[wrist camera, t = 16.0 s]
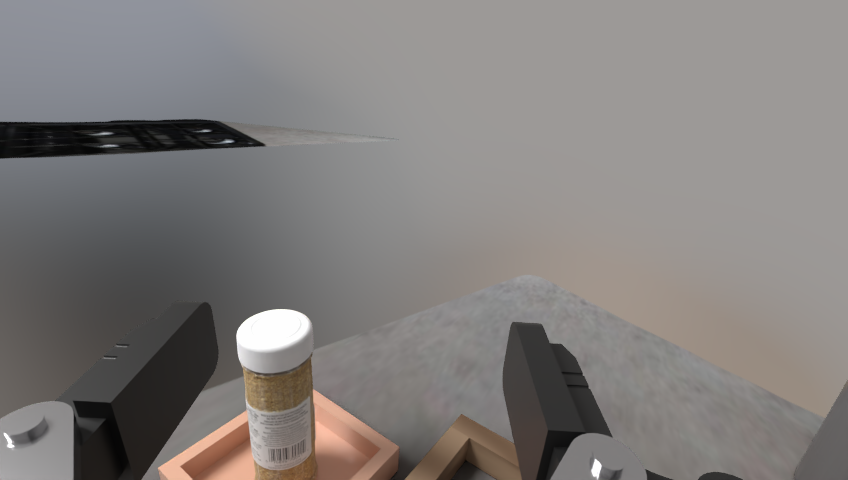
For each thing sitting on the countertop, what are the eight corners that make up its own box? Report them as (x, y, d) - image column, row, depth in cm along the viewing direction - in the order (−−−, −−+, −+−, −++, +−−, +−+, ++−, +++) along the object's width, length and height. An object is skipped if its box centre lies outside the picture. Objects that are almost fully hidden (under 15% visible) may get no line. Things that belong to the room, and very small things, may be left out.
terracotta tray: (297, 399, 40) (296, 378, 39) (397, 470, 34) (399, 447, 33) (163, 492, 31) (158, 468, 30) (268, 613, 25) (265, 587, 24)
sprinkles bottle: (320, 449, 34) (316, 306, 29) (314, 503, 30) (308, 347, 25) (260, 453, 34) (246, 306, 29) (246, 508, 30) (225, 348, 24)
